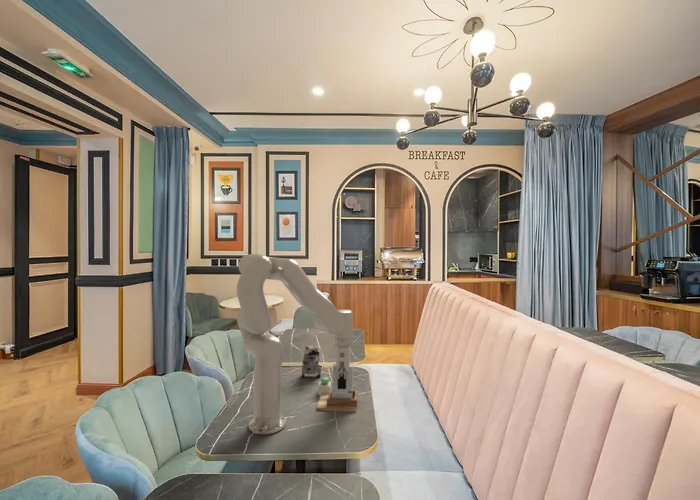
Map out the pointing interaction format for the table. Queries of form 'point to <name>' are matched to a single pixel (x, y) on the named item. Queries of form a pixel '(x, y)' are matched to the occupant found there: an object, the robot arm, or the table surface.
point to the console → (324, 388)
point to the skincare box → (349, 384)
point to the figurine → (311, 361)
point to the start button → (324, 380)
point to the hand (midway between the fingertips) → (342, 383)
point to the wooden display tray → (337, 402)
